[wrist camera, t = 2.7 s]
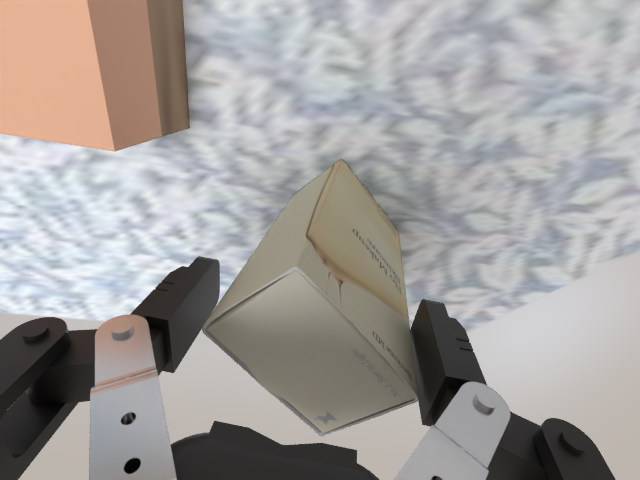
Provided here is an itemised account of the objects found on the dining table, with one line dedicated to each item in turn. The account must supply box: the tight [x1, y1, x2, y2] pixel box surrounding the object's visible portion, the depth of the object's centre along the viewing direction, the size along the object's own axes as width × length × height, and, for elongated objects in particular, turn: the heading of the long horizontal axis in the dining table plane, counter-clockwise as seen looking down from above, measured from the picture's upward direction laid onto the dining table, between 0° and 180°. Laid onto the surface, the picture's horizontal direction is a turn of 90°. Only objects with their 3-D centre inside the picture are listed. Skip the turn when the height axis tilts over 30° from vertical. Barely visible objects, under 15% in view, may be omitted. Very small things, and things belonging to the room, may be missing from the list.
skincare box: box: [202, 160, 419, 436], centre depth 15 cm, size 6×4×12 cm
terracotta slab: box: [0, 0, 162, 151], centre depth 13 cm, size 8×8×4 cm
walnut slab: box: [147, 0, 190, 136], centre depth 17 cm, size 8×8×4 cm
